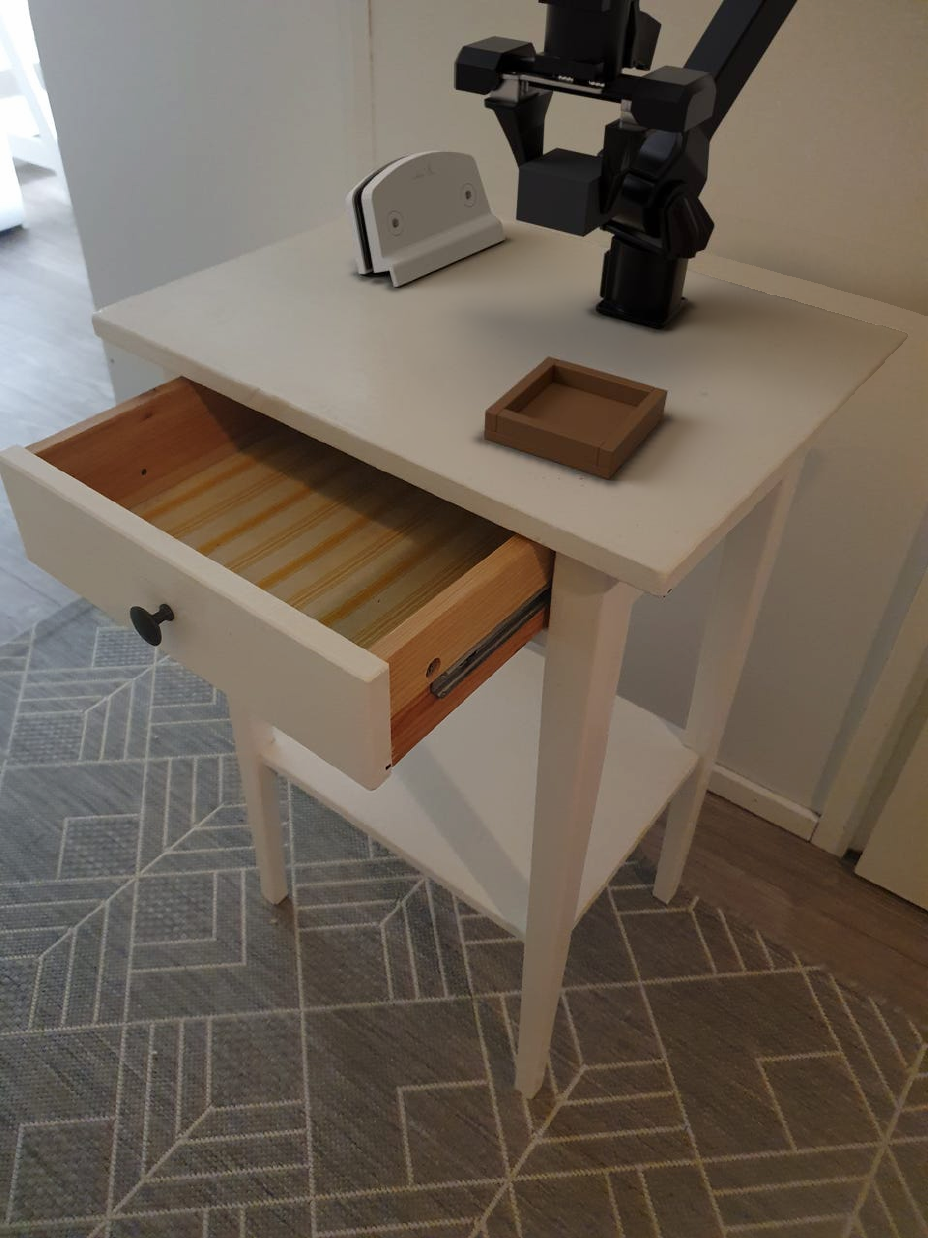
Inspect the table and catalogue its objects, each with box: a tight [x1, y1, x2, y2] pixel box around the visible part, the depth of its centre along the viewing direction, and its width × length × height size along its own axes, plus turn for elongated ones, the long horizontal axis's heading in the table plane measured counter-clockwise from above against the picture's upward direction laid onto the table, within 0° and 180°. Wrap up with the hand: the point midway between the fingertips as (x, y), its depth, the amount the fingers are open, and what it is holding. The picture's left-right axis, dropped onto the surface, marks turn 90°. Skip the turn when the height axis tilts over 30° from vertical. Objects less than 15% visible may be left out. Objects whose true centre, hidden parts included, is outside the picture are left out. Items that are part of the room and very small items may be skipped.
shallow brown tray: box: [483, 356, 669, 480], centre depth 71 cm, size 10×10×2 cm
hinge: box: [345, 150, 506, 288], centre depth 94 cm, size 17×5×10 cm, turn 140°
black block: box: [515, 147, 621, 238], centre depth 75 cm, size 6×6×4 cm
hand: (569, 204), depth 76 cm, fingers closed on black block, 6 cm apart
